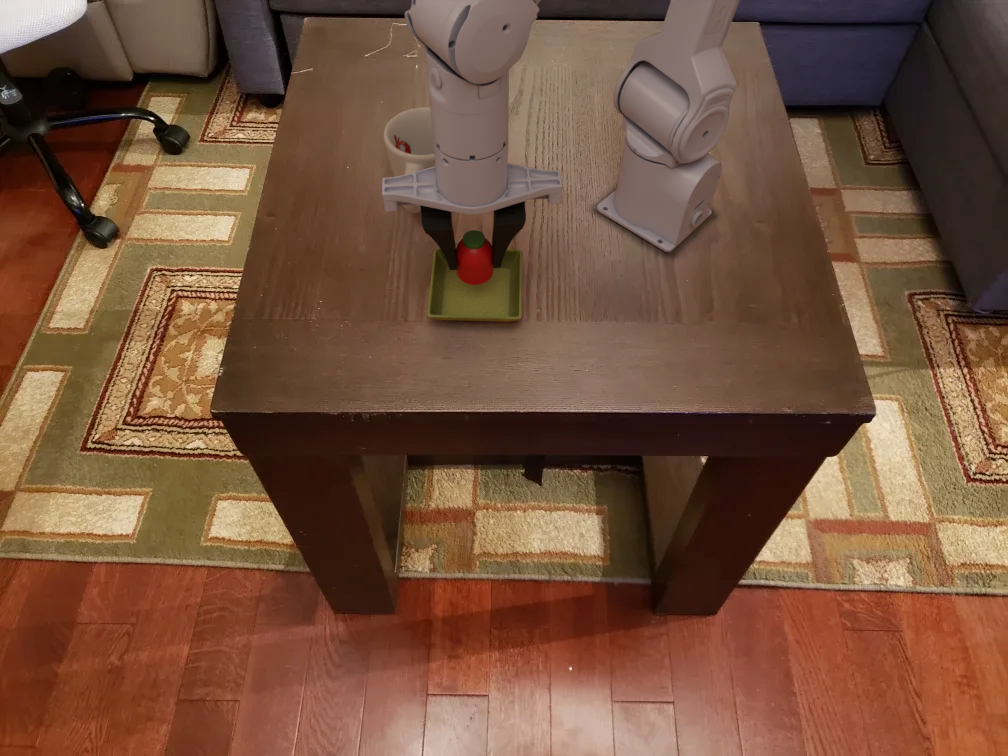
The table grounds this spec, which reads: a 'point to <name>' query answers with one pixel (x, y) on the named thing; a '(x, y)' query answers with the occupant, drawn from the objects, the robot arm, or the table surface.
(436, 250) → the green square tray
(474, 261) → the strawberry
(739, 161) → the table surface
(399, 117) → the cup
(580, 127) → the table surface
